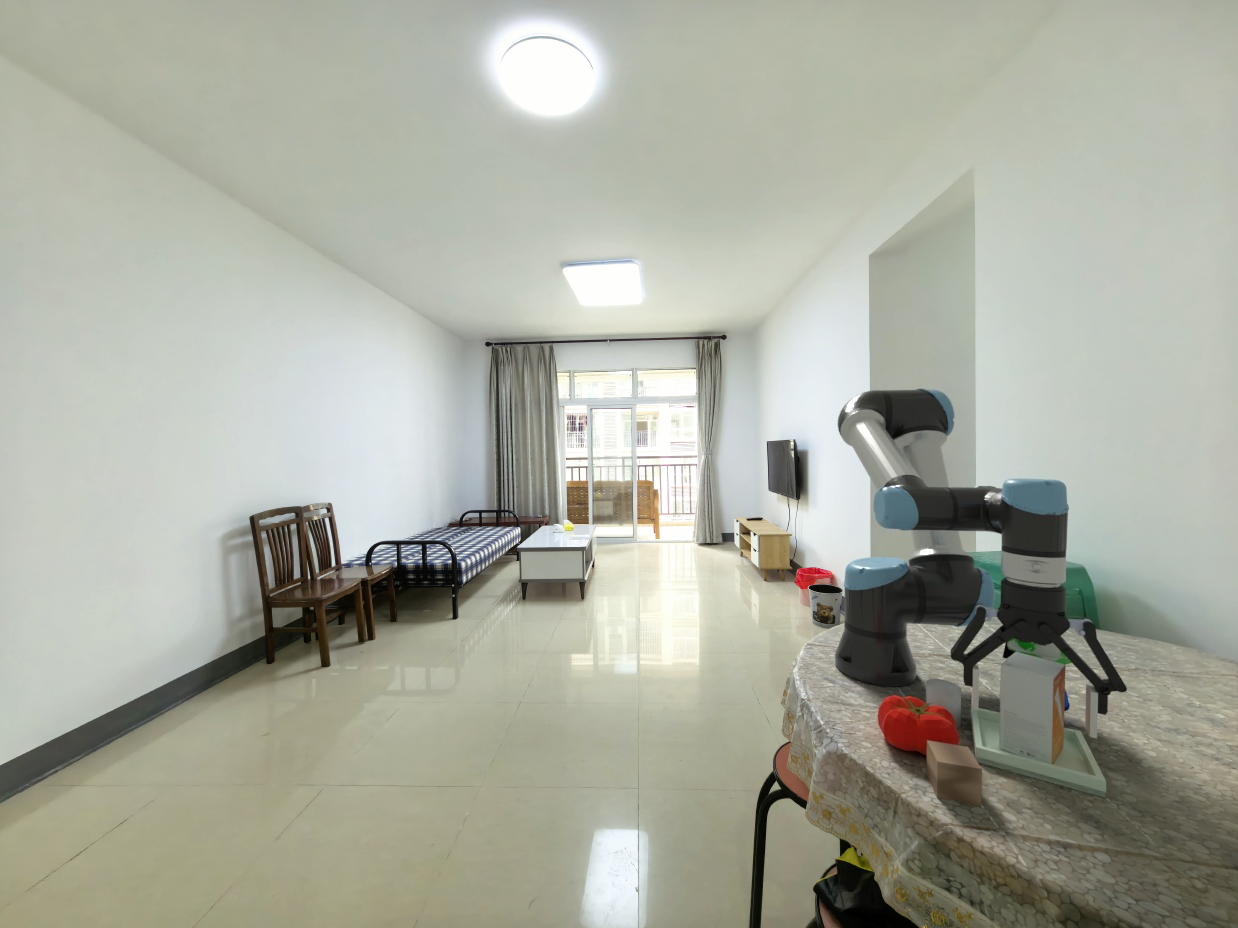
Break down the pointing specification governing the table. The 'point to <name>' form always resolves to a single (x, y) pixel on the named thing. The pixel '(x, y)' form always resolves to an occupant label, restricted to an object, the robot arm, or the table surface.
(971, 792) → the walnut cube
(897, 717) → the tomato
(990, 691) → the table surface
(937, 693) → the grey cylinder
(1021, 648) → the toy
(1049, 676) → the small box
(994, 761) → the tray
